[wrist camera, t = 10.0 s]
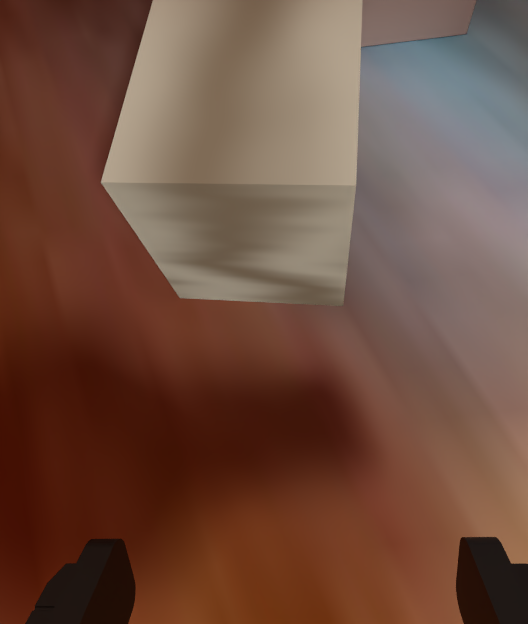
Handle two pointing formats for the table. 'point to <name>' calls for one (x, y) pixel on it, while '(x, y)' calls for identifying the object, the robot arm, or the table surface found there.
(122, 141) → the beige rectangular block
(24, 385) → the table surface
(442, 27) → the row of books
